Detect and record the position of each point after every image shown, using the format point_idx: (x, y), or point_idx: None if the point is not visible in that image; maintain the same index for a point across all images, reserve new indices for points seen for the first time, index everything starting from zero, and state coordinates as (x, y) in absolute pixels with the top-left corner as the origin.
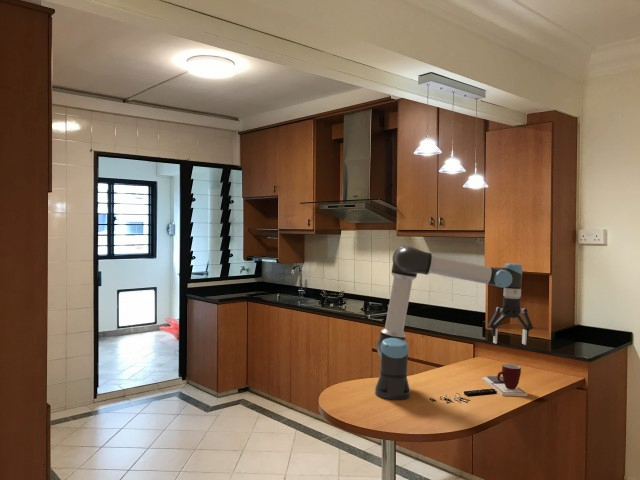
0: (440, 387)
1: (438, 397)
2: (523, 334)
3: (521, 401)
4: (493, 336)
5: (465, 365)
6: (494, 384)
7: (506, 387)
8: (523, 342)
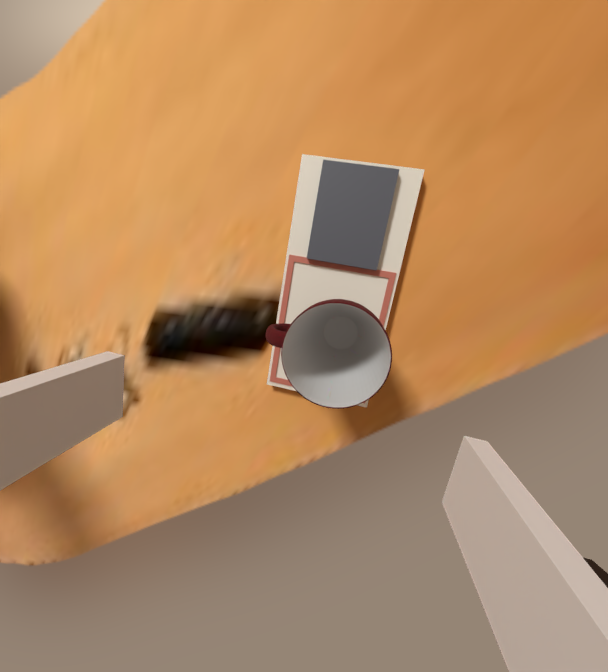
0: (87, 260)
1: (54, 362)
2: (530, 596)
3: (305, 444)
4: (32, 379)
5: None
6: (297, 277)
7: (320, 332)
8: (458, 489)
